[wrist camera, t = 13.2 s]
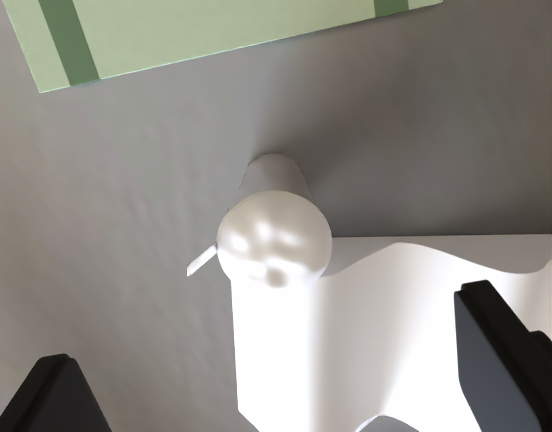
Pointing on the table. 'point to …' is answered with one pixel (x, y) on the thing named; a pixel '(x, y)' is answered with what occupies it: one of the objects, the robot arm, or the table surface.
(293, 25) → the towel
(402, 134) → the table surface
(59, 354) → the robot arm
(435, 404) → the white wavy rack
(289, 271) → the milkshake
